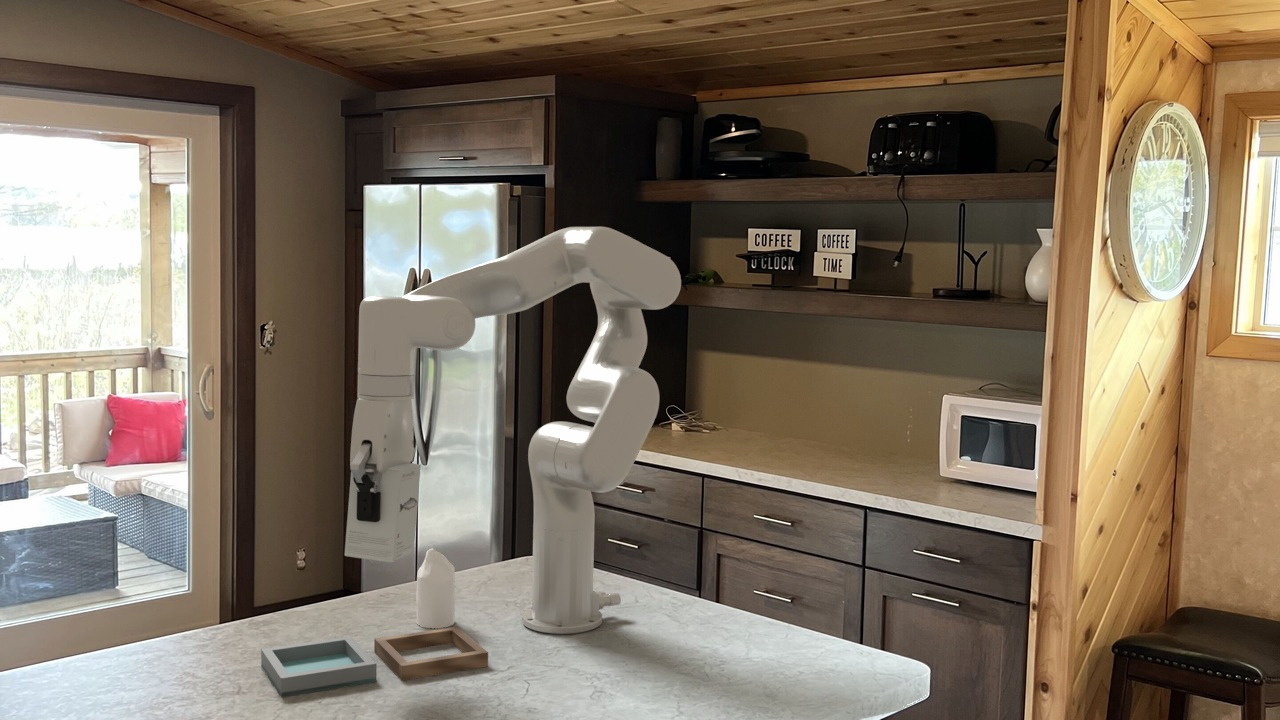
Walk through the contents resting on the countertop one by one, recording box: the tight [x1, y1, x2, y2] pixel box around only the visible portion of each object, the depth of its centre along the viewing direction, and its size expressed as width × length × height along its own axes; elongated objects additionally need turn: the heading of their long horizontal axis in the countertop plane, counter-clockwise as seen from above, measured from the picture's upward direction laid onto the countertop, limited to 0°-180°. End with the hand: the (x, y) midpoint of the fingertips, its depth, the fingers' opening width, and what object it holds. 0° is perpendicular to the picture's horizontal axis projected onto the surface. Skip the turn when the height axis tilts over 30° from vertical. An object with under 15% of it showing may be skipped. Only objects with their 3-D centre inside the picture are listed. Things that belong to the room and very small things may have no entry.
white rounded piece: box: [415, 548, 456, 629], centre depth 176 cm, size 6×12×6 cm
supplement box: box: [344, 462, 422, 563], centre depth 155 cm, size 7×7×13 cm
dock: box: [260, 635, 378, 698], centre depth 154 cm, size 12×12×2 cm
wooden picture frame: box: [374, 626, 489, 681], centre depth 160 cm, size 12×12×2 cm
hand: (383, 514), depth 156 cm, fingers closed on supplement box, 7 cm apart
